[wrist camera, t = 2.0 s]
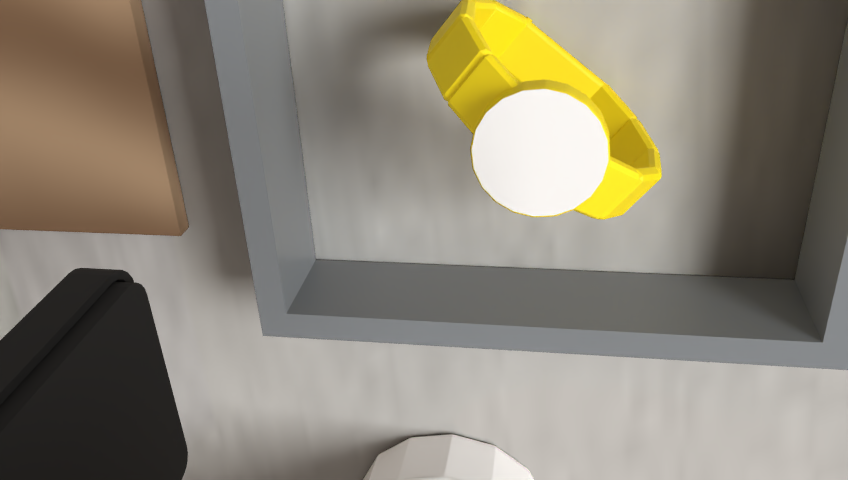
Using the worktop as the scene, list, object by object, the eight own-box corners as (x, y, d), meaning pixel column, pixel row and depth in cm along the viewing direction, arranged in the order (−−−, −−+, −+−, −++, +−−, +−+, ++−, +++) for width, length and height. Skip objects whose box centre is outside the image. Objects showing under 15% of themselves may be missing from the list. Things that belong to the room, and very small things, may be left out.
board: (189, 226, 25) (180, 236, 25) (-40, 218, 27) (-52, 227, 26) (95, -214, 19) (82, -214, 19) (-190, -197, 21) (-210, -196, 20)
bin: (819, 304, 23) (850, 370, 20) (294, 280, 26) (262, 335, 23) (944, -253, 16) (1014, -260, 14) (222, -211, 19) (167, -211, 16)
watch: (434, 40, 22) (373, 106, 16) (500, -45, 20) (457, -4, 15) (603, 181, 22) (597, 287, 17) (678, 108, 21) (696, 198, 16)
